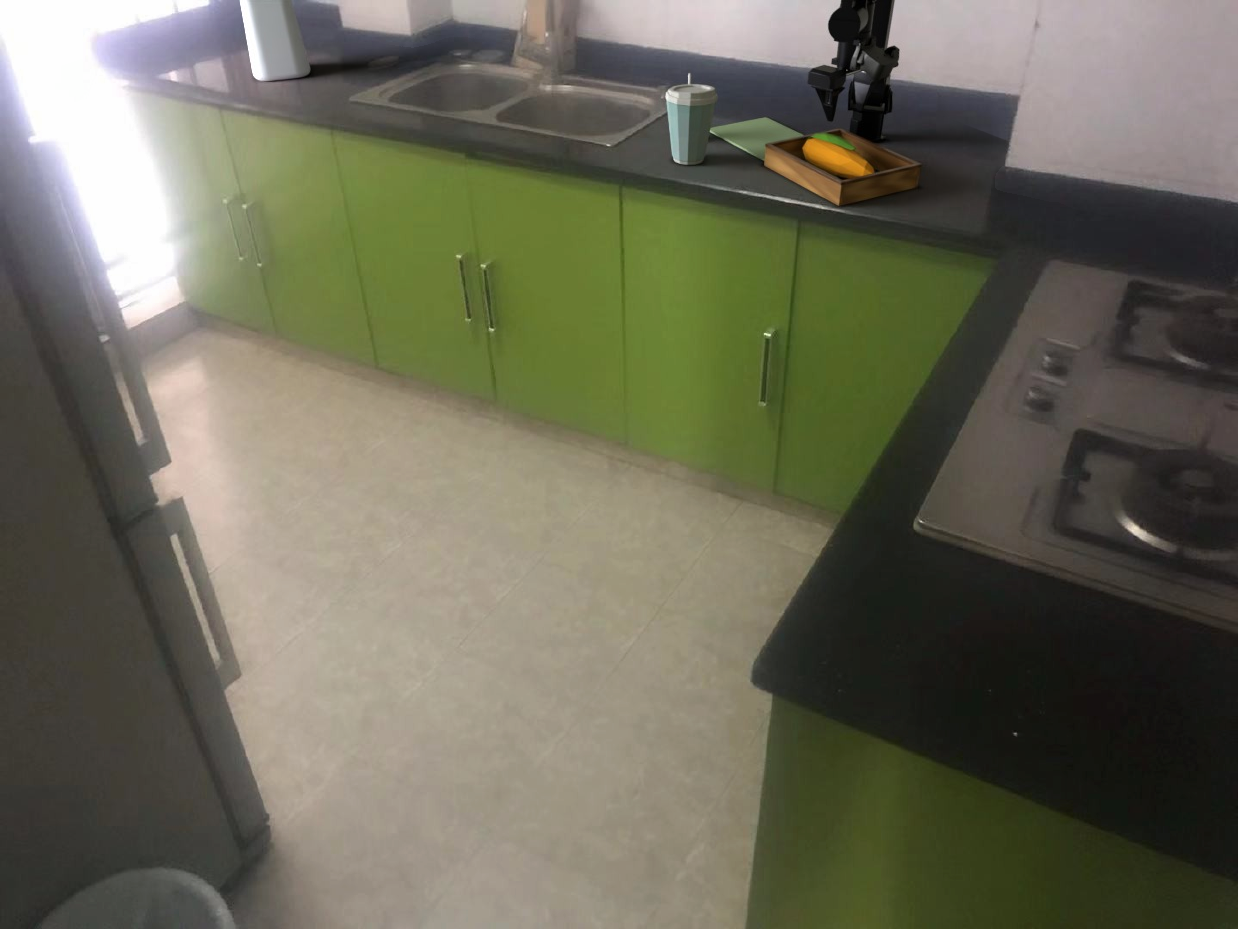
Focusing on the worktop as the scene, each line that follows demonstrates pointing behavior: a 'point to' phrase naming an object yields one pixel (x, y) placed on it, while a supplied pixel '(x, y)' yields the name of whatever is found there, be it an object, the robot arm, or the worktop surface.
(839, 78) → the robot arm
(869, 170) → the corn
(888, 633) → the worktop surface
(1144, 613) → the worktop surface
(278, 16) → the plastic bottle
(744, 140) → the mat
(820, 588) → the worktop surface
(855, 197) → the wooden tray
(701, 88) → the disposable coffee cup
